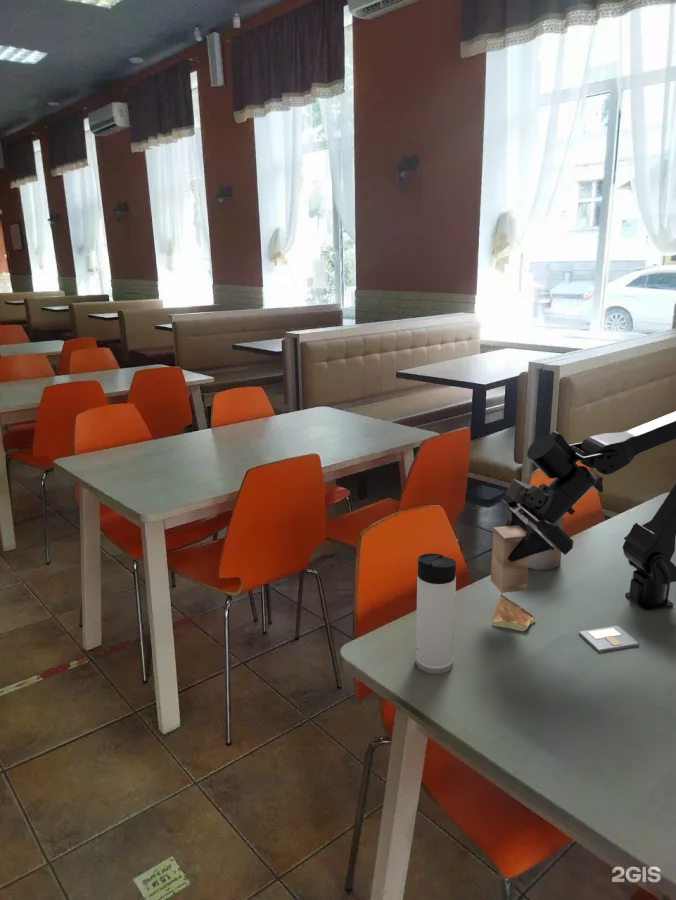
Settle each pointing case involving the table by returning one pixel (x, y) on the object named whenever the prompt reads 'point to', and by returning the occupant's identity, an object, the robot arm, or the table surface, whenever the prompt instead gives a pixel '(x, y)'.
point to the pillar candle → (546, 554)
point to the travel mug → (435, 613)
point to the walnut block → (502, 569)
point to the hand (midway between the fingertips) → (503, 553)
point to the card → (608, 638)
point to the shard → (511, 615)
